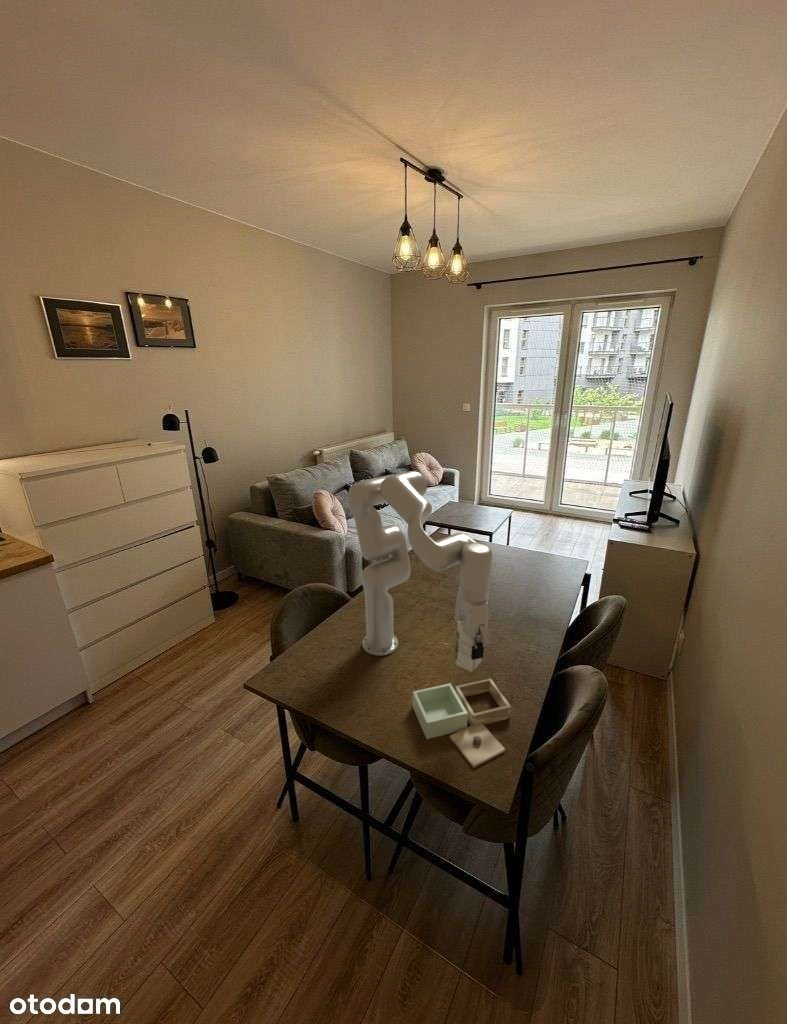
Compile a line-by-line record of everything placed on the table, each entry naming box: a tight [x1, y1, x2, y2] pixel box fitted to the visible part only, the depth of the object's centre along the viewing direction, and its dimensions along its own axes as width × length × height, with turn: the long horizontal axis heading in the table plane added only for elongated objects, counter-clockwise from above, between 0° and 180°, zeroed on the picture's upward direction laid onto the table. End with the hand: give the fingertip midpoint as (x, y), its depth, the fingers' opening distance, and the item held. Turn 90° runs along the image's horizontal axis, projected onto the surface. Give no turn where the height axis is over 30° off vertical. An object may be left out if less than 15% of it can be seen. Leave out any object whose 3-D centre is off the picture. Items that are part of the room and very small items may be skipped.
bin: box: [412, 682, 468, 740], centre depth 116 cm, size 12×12×6 cm
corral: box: [454, 678, 512, 726], centre depth 119 cm, size 12×12×4 cm
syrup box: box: [453, 618, 483, 673], centre depth 111 cm, size 6×6×14 cm
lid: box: [449, 723, 506, 769], centre depth 108 cm, size 10×10×2 cm
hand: (469, 648), depth 112 cm, fingers closed on syrup box, 7 cm apart
